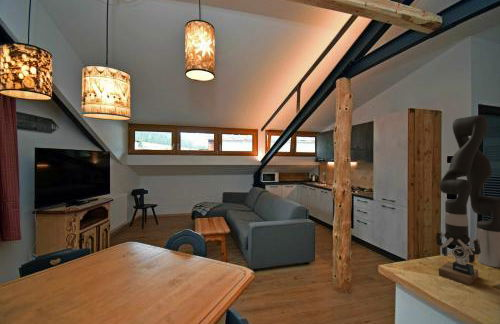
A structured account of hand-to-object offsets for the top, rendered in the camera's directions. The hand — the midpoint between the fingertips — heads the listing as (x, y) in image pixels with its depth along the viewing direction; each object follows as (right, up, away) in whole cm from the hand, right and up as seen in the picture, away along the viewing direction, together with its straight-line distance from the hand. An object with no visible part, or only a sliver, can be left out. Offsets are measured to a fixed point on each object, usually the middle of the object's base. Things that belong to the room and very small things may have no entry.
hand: (457, 258), depth 96 cm
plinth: (0, -8, 0) cm, 8 cm away
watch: (+1, -5, -2) cm, 5 cm away
